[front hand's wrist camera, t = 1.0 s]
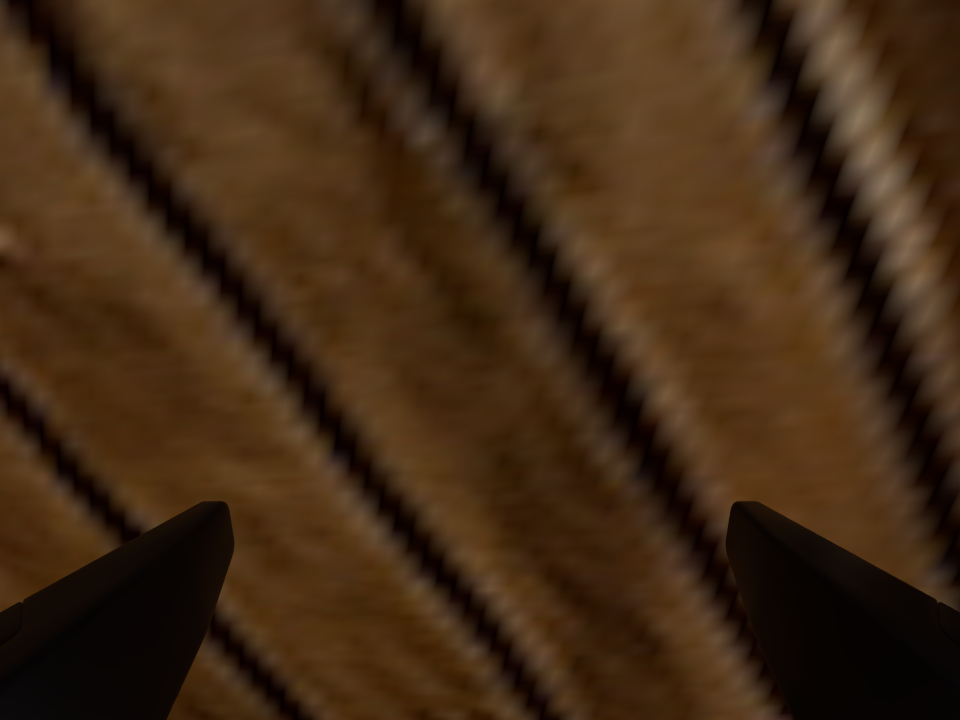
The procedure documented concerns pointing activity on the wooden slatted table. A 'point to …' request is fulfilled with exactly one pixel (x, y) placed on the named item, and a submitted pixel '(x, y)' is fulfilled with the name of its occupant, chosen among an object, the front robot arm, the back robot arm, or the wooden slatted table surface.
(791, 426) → the wooden slatted table surface
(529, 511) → the wooden slatted table surface
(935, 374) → the wooden slatted table surface
